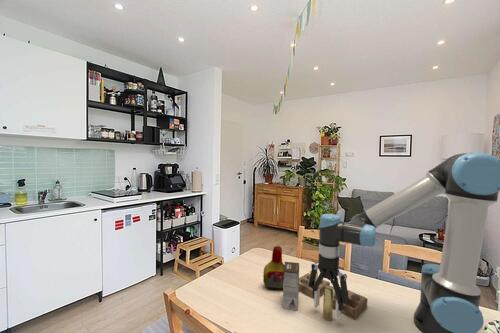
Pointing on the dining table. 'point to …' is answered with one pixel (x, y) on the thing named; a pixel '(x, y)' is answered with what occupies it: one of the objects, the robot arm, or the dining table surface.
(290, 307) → the coffee box
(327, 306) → the peg
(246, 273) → the dining table surface
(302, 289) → the board
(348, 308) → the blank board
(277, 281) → the bottle
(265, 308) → the dining table surface
